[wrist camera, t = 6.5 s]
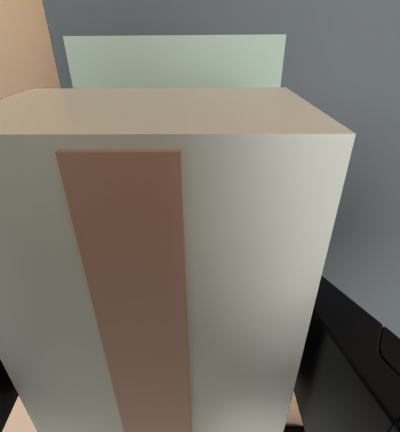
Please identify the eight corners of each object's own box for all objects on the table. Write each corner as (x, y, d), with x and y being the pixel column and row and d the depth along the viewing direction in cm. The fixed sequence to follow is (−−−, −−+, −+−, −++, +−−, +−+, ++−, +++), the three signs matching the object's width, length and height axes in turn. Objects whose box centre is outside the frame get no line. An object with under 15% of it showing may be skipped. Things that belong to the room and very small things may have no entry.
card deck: (285, 87, 7) (359, 135, 4) (255, 341, 12) (275, 471, 8) (33, 88, 7) (-122, 136, 4) (97, 339, 12) (52, 467, 8)
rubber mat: (383, 375, 22) (387, 382, 21) (124, 372, 22) (123, 379, 22) (570, -20, 11) (585, -22, 10) (44, -14, 11) (37, -16, 11)
